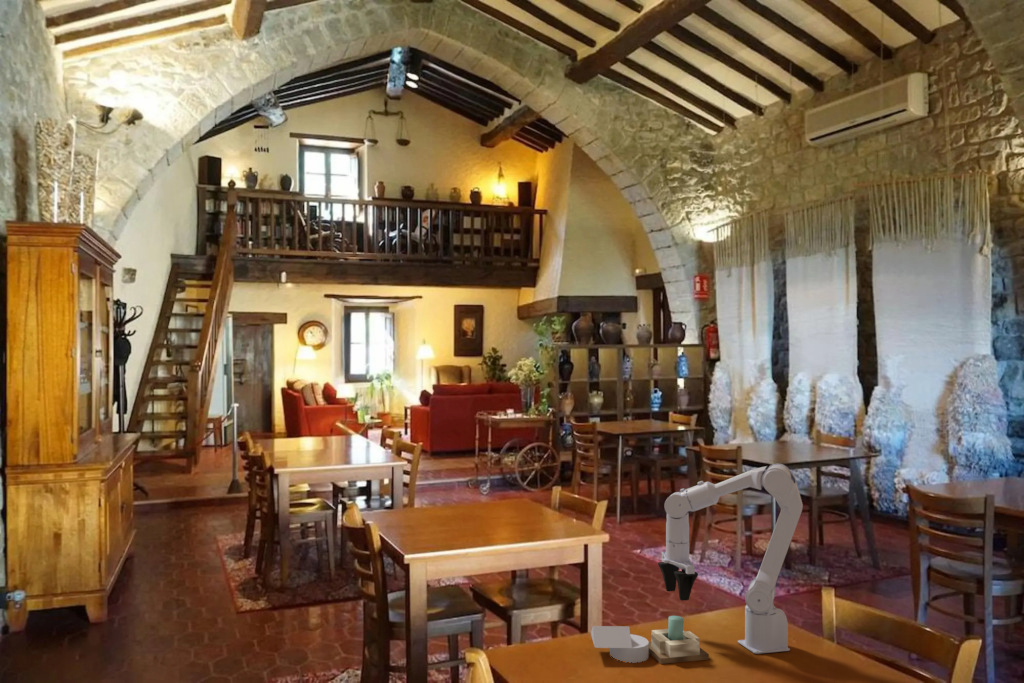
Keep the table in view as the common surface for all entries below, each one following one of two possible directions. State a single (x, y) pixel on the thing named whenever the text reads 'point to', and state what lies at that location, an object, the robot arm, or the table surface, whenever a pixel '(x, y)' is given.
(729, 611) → the table surface
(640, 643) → the wedge on round base
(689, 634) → the socket board
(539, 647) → the table surface
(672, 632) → the peg
